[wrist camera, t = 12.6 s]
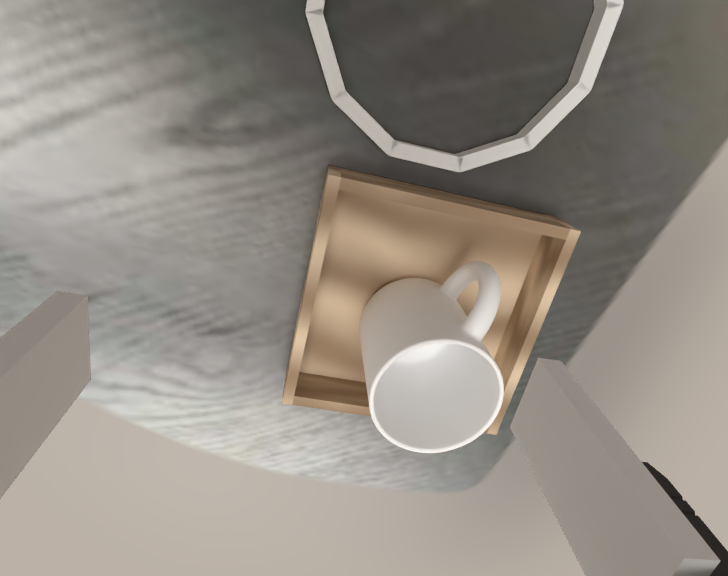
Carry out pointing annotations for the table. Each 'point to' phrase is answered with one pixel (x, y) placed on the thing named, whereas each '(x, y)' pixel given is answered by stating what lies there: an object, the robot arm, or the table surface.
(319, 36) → the socket ring
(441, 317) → the mug
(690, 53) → the table surface
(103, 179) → the table surface
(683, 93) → the table surface
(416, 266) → the oak bin
